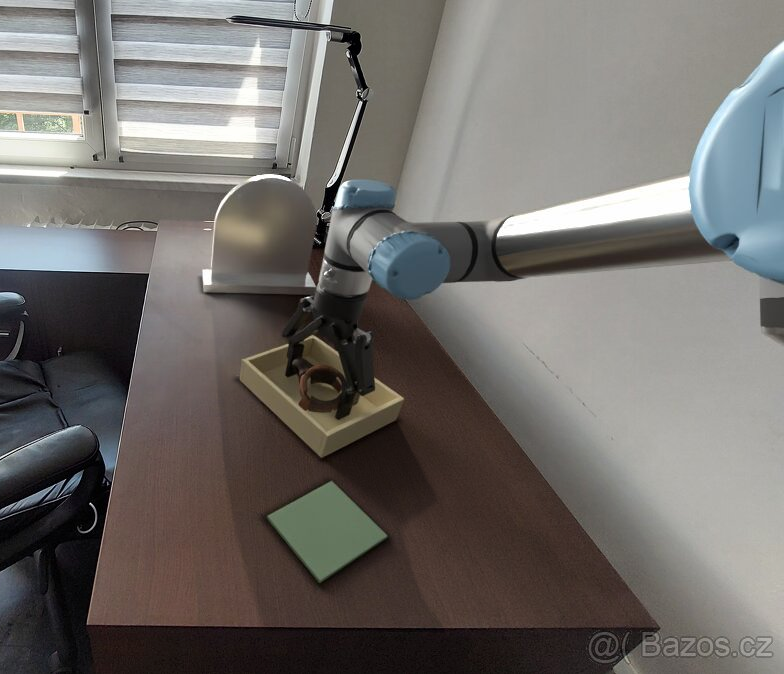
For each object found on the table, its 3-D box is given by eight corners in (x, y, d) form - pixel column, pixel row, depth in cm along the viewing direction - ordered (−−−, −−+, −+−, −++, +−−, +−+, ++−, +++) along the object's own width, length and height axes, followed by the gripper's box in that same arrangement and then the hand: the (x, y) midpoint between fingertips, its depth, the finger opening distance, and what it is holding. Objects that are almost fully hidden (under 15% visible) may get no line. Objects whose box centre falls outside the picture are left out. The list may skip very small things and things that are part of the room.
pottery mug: (356, 400, 82) (365, 383, 75) (319, 435, 81) (325, 421, 73) (306, 356, 88) (309, 337, 80) (270, 388, 86) (271, 372, 79)
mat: (386, 538, 60) (387, 535, 59) (319, 583, 55) (320, 580, 54) (330, 483, 67) (331, 480, 67) (266, 518, 62) (267, 515, 61)
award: (306, 278, 122) (327, 172, 107) (314, 294, 115) (338, 183, 100) (202, 276, 122) (208, 169, 106) (203, 292, 114) (210, 179, 99)
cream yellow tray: (396, 419, 78) (404, 398, 76) (321, 458, 71) (327, 436, 68) (308, 354, 94) (313, 334, 91) (239, 379, 86) (242, 359, 83)
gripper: (272, 261, 76) (257, 363, 89) (391, 331, 59) (352, 446, 71) (306, 253, 80) (286, 353, 92) (428, 317, 63) (384, 430, 75)
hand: (315, 394), depth 82 cm, fingers closed on pottery mug, 12 cm apart
